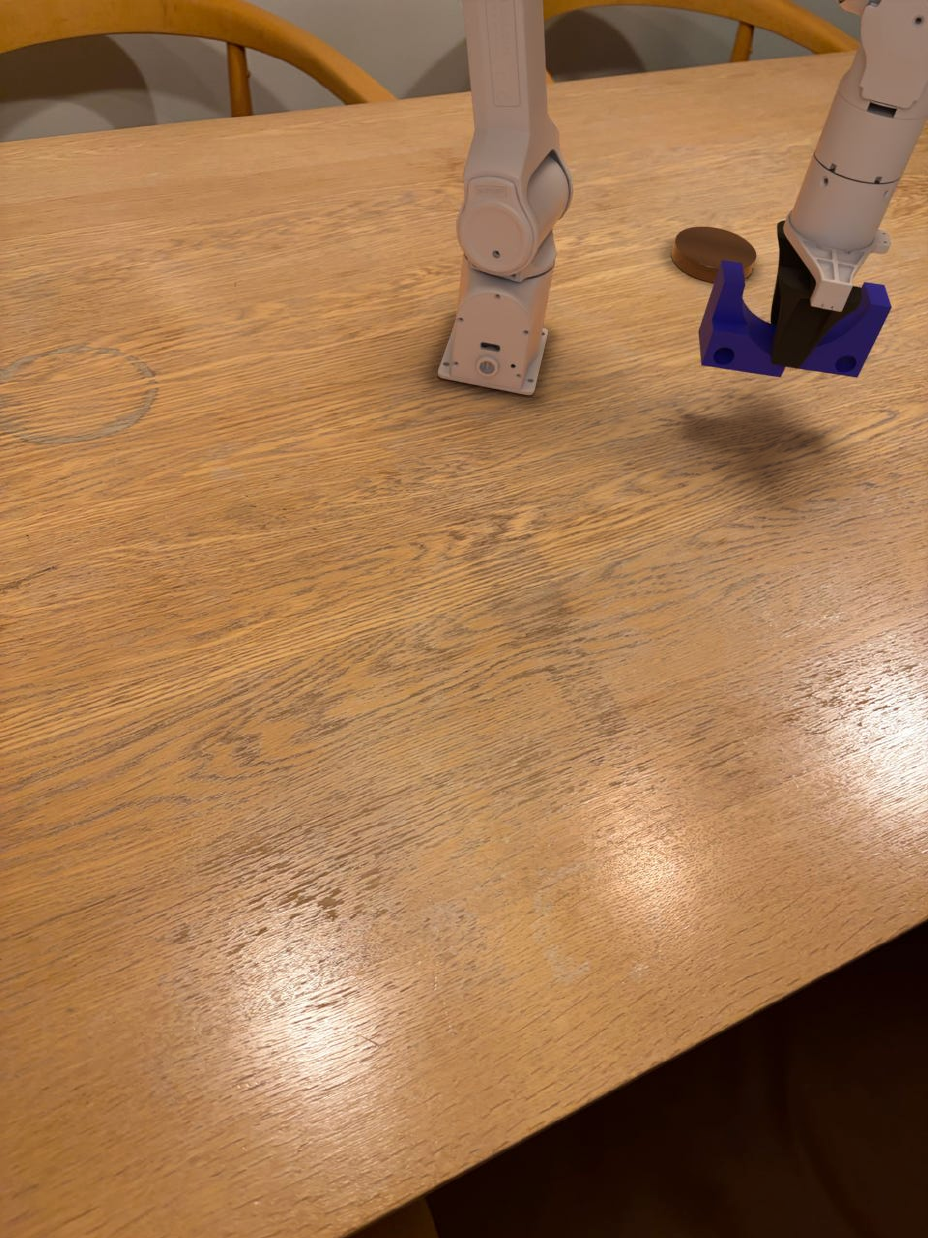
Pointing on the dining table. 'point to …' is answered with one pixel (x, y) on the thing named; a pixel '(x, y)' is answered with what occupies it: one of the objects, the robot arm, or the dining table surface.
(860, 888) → the dining table surface
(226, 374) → the dining table surface
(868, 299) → the blue clamp bracket
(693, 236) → the walnut chip
